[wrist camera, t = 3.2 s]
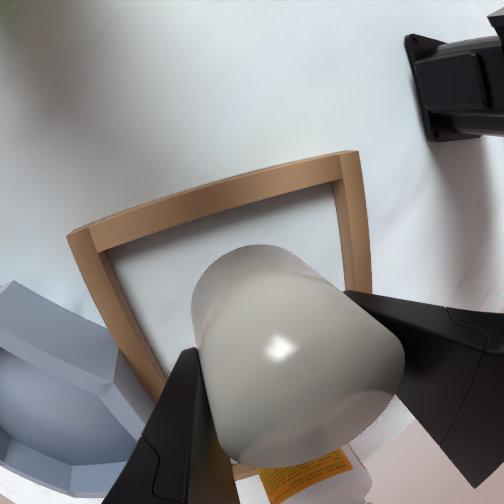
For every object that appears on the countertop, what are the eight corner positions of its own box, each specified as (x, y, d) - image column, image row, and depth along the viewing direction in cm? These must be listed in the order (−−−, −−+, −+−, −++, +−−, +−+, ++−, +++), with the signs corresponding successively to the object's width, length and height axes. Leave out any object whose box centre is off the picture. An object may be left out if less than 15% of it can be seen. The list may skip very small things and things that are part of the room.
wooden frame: (345, 150, 12) (358, 151, 11) (359, 419, 19) (365, 427, 18) (73, 230, 10) (65, 236, 9) (219, 474, 17) (222, 484, 16)
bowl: (82, 252, 10) (56, 284, 7) (195, 447, 15) (204, 485, 12) (-72, 322, 8) (-96, 347, 5) (41, 464, 13) (37, 494, 10)
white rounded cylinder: (303, 227, 9) (412, 289, 5) (319, 332, 11) (394, 417, 6) (171, 269, 9) (181, 385, 4) (213, 371, 10) (248, 484, 6)
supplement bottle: (225, 434, 16) (272, 566, 7) (280, 381, 15) (364, 524, 6) (283, 446, 18) (337, 548, 9) (334, 400, 17) (411, 504, 8)
